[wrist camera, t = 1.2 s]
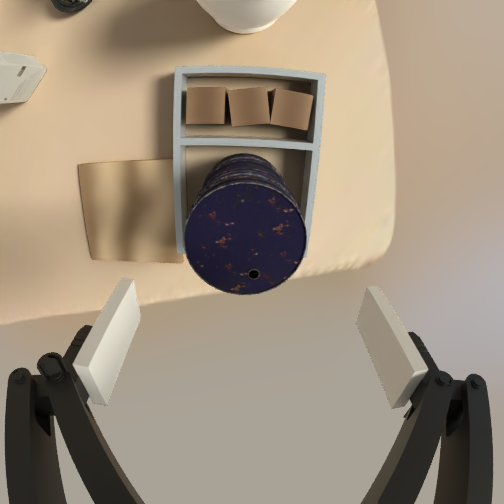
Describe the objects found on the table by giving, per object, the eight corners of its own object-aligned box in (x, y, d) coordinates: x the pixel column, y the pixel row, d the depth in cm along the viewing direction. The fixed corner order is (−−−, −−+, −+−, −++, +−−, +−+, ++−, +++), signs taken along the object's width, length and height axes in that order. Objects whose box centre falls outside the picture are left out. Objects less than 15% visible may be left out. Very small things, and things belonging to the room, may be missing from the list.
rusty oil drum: (194, 163, 34) (164, 199, 21) (274, 143, 34) (296, 166, 20) (216, 236, 39) (204, 306, 26) (290, 219, 38) (316, 282, 25)
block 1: (192, 122, 32) (185, 123, 29) (193, 90, 30) (187, 87, 27) (225, 122, 32) (223, 123, 29) (227, 90, 31) (225, 87, 27)
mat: (93, 257, 40) (92, 259, 39) (80, 164, 33) (78, 165, 33) (183, 261, 40) (182, 263, 40) (179, 159, 34) (178, 159, 34)
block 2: (233, 125, 33) (232, 126, 29) (229, 92, 31) (227, 90, 27) (267, 121, 33) (270, 123, 29) (263, 89, 31) (266, 86, 27)
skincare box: (27, 103, 28) (-31, 111, 18) (13, 88, 27) (-44, 93, 16) (49, 67, 27) (-9, 64, 16) (34, 53, 25) (-22, 48, 14)
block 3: (267, 122, 33) (270, 123, 29) (272, 90, 31) (276, 87, 27) (300, 128, 33) (307, 130, 29) (305, 96, 31) (313, 95, 28)
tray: (181, 241, 39) (177, 253, 36) (181, 70, 29) (175, 67, 26) (301, 245, 40) (306, 257, 37) (318, 77, 30) (325, 74, 27)
